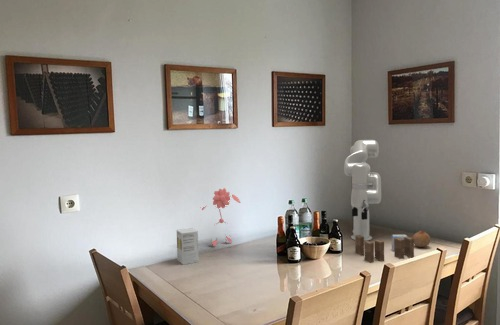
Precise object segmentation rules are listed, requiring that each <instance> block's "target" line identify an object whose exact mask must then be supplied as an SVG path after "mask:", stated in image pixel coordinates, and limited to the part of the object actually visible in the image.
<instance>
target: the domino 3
mask: <svg viewBox="0 0 500 325" xmlns="http://www.w3.org/2000/svg"><path fill="white" fill-rule="evenodd" d="M374 260H377V261H378V262H385V242H384V240H380V239H374Z"/></svg>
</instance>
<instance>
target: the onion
mask: <svg viewBox="0 0 500 325" xmlns="http://www.w3.org/2000/svg"><path fill="white" fill-rule="evenodd" d="M412 238H413V239H414V246H416V247H418V248H424V247H427V246H429V245H430V244H431V236H430V235H429V234H428V233H427V232H425V231H424V230H419V231H417V232H415V233H414V234H413V236H412Z"/></svg>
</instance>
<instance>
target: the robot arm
mask: <svg viewBox="0 0 500 325" xmlns="http://www.w3.org/2000/svg"><path fill="white" fill-rule="evenodd" d="M349 153H350V155H349V156H347V157H346V158H345V160H344V166H343V171H344V175H345V176H348V177H352V178H351V182H352V183H351V184H352V185H351V186H352V188H351V195H350V206H351V210H352V211H351V214H352V215H351V216H352V217H353V230H352V231H351V232H352V233H353V234H352V235H351V236H350V239H351V240H354V241H355V235H361V236H363V237H364V242H365V241H371V240H372V239H373V237H372V235H370V209H369V208H370V205H371V204H372V205H375V204H376V205H378V204H380V203H381V201H382V178H381V175H380V174H379V173H378V172H373V171H372V172H371V166H370V165H369V163H367V162H366V161H367V160H368V159H370V158H371V159H372V158H373V159H374V158H377V157H378V156H379V153H380V146H379V143H378V141H377V140H375V139H359V140H357V141H355V142H354V144H353V145H352V146H351V147H350V150H349Z"/></svg>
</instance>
